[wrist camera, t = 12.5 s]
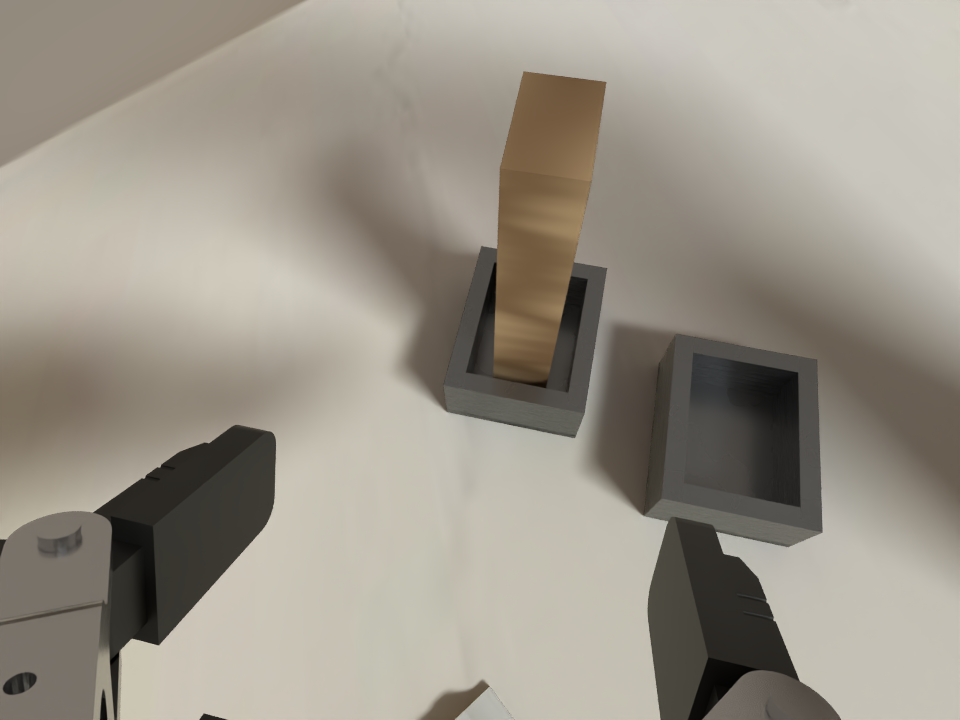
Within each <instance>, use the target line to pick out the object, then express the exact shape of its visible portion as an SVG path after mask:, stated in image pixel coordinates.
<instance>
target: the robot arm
mask: <svg viewBox="0 0 960 720" xmlns="http://www.w3.org/2000/svg"><path fill="white" fill-rule="evenodd" d="M275 461H276V439H275V436H274V434H273V433H272V432H269V431H265V430H260V429H255V428H250V427H245V426H241V425H234V426H233V427H231V428H230V429H228V430H227V431H226V432H224V433H223V434H221V435H220V436H219V437H217V438H216V439H215V440H213V441H212V442H211V443H202V444H200V445H197V446H194V447H191V448H189V449H186V450H183V451H180V452H179V453H177V454H176V455H174V456H173V457H172V458H170V459H169V460H167V461H166V462H164V463H163V464H162V465H161V467H160V468H158V467H157V468H156V469H154V470H153V471H152V472H150V473H149V474H147V475H146V477H145V479H140V480H139V481H137V482H136V483H135V484H133V485H132V486H130V487H129V488H127V489H126V490H125V491H123V492H122V493H120V494H119V495H117V496H116V497H115V498H113V499H112V500H110V501H109V502H107V503H106V504H105V505H103V506H102V507H100V508H99V509H97V510H96V511H95V512H93V513H91V512H83V511H72V512H63V513H57V514H52V515H48V516H45V517H42V518H39V519H36V520H34V521H31V522H29V523H27V524H25V525H23V526H22V527H20V528H19V529H17V530H16V531H15V532H13V533H12V534H11V535H10V536H9V537H8V539H7V540H0V720H120V701H121V668H122V661H121V649H122V648H123V647H124V646H125V645H126V644H127V643H128V642H129V641H130V640H131V639H136V640H140V641H144V642H148V643H152V644H155V645H160V643H161V642H162V641H163V640H164V639H165V638H166V637H167V636H168V635H169V633H170V632H171V631H172V630H173V629H174V628H175V627H176V626H177V625H178V623H179V622H180V621H181V620H182V619H183V618H184V617H185V616H186V614H187V613H188V612H189V611H190V610H191V609H192V608H193V607H194V606H195V604H196V603H197V602H198V601H199V600H200V599H201V598H202V597H203V595H204V594H205V593H206V592H207V591H208V590H209V589H210V588H211V587H212V585H213V584H214V583H215V582H216V581H217V580H218V579H219V578H220V576H221V575H222V574H223V573H224V572H225V571H226V570H227V569H228V568H229V566H230V565H231V564H232V563H233V562H234V561H235V560H236V559H237V557H238V556H239V555H240V554H241V553H242V552H243V551H244V550H245V549H246V547H247V546H248V545H249V544H250V543H251V542H252V541H253V540H254V539H255V537H256V536H257V535H258V534H259V533H260V532H261V531H262V530H263V528H264V527H265V525H266V524H267V522H268V520H269V518H270V515H271V512H272V509H273V505H274V496H275ZM766 600H767V599H766V597H765V594H764V592H763V589H762V587H761V584H760V582H759V579H758V578H757V576H756V575H755V574H754V573H753V572H752V571H751V570H750V569H749V568H748V567H747V566H746V564H745V563H744V562H743V561H742V560H741V559H740V558H739V557H734V556H730V555H725V554H723V552H722V549H721V546H720V543H719V540H718V537H717V534H716V531H715V528H714V526H713V525H711V524H707V523H702V522H697V521H692V520H688V519H683V518H678V517H671V518H670V520H669V522H668V524H667V527H666V531H665V534H664V538H663V541H662V545H661V549H660V552H659V556H658V560H657V563H656V567H655V571H654V574H653V578H652V581H651V586H650V591H649V598H648V623H649V631H650V638H651V646H652V654H653V662H654V670H655V678H656V686H657V694H658V702H659V710H660V718H661V720H841V719H840V717H839V715H838V714H837V713H836V711H835V710H834V709H833V708H832V706H831V705H830V704H829V703H828V702H827V701H826V700H825V699H824V698H822V697H821V696H820V695H819V694H818V693H817V692H815V691H814V690H812V689H811V688H810V687H808V686H806V685H805V684H803V683H801V682H800V681H799V678H798V676H797V673H796V671H795V668H794V666H793V663H792V661H791V658H790V656H789V654H788V651H787V649H786V646H785V644H784V641H783V639H782V636H781V634H780V631H779V629H778V626H777V624H776V622H775V621H773V618H774V616H773V614H772V611H771V609H770V606H769V604H768V603H766ZM200 720H226V719H222V718H219V717H215V716H211V715H208V714H203V715H202V717H201V718H200Z"/></svg>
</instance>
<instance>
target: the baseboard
mask: <svg viewBox="0 0 960 720" xmlns="http://www.w3.org/2000/svg"><path fill="white" fill-rule="evenodd" d="M454 720H514V719H513V717H512V716H511V715H510V713H509V712H508V711H507V709H506V708H505V706H504V705H503V704H502V702H501V701H500V700H499V698H498V697H497V696H496V694H495V693H494V692H493V690H492V689H491V687H490V686H489V687H488V688H487V689H486V690H485V691H484V692H483V693H482V694H481V695H480V696H479V697H478V698H477V699H476V700H475V701H474V702H472V703H471V704H470V705H469V706H468V707H467V708H466V709H465V710H464V711H463V712H462V713H461V714H460V715H459V716H458V717H457V718H455V719H454Z"/></svg>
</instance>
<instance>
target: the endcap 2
mask: <svg viewBox="0 0 960 720" xmlns="http://www.w3.org/2000/svg"><path fill="white" fill-rule="evenodd" d="M644 516H646V517H651V518H656V519H660V520H665V521H669V520H670V518H671V517H678V518H683V519H688V520H692V521H697V522H702V523H707V524H711V525H713V526H714V528H715V531H716V532H720V533H725V534H729V535H734V536H739V537H743V538H748V539H753V540H757V541H762V542H766V543H771V544H776V545H780V546H785V547H789V546H792V545H794V544H796V543H799V542H801V541H804V540H806V539H808V538H811V537H813V536H815V535H818V534H820V533H822V502H821V471H820V440H819V409H818V379H817V360H815V359H809V358H804V357H799V356H793V355H788V354H782V353H777V352H772V351H766V350H761V349H755V348H750V347H744V346H739V345H734V344H728V343H723V342H717V341H712V340H707V339H701V338H696V337H690V336H685V335H680V334H676V335H675V337H674V339H673V340H672V342H671V344H670V346H669V347H668V349H667V351H666V353H665V355H664V356H663V358H662V360H661V362H660V363H659V370H658V380H657V390H656V400H655V410H654V420H653V430H652V440H651V450H650V460H649V470H648V480H647V490H646V501H645V511H644Z"/></svg>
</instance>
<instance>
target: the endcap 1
mask: <svg viewBox="0 0 960 720" xmlns="http://www.w3.org/2000/svg"><path fill="white" fill-rule="evenodd" d="M606 271H607V268H602V267H597V266H591V265H585V264H579V263H573V268H572V272H571V277H570V281H569V286H568V290H567V295H566V300H565V304H564V309H563V313H562V318H561V322H560V327H559V331H558V336H557V341H556V345H555V350H554V354H553V359H552V363H551V368H550V373H549V377H548V382H547V386H546V388H542V387H537V386H531V385H526V384H521V383H516V382H511V381H506V380H501V379H496V378H493V366H494V336H495V306H496V276H497V249H494V248H488V247H483V246H481V250H480V254H479V257H478V261H477V265H476V268H475V272H474V276H473V279H472V283H471V286H470V290H469V294H468V297H467V301H466V305H465V308H464V312H463V316H462V319H461V323H460V326H459V330H458V334H457V337H456V341H455V345H454V348H453V352H452V356H451V359H450V363H449V367H448V370H447V374H446V377H445V381H444V385H443V386H444V393H445V401H446V408H447V412H450V413H455V414H460V415H465V416H470V417H474V418H479V419H484V420H489V421H494V422H499V423H504V424H508V425H513V426H518V427H523V428H528V429H533V430H538V431H542V432H547V433H552V434H557V435H562V436H567V437H572V438H575V437H576V434H577V431H578V429H579V426H580V424H581V421H582V418H583V416H584V413H585V406H586V400H587V394H588V387H589V381H590V374H591V368H592V361H593V355H594V349H595V342H596V336H597V329H598V323H599V316H600V310H601V304H602V297H603V291H604V284H605V278H606Z"/></svg>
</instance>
